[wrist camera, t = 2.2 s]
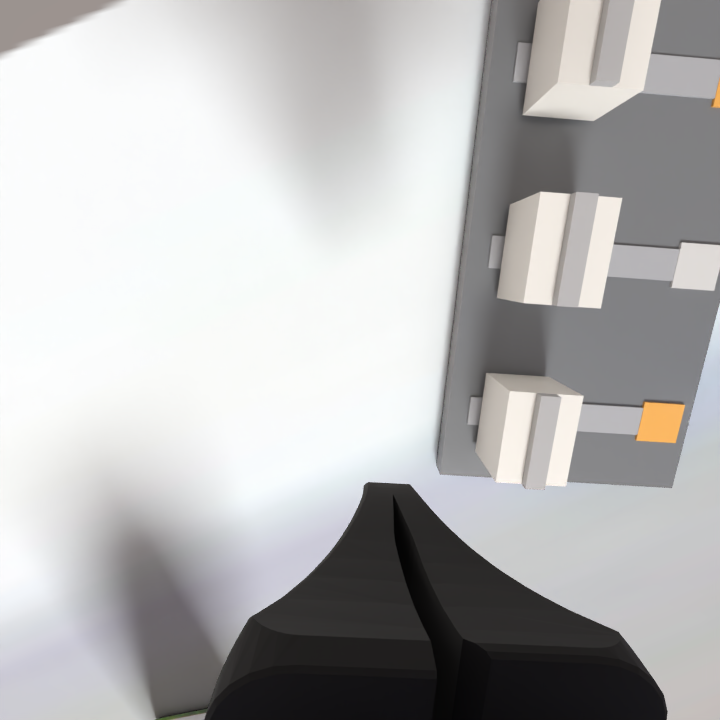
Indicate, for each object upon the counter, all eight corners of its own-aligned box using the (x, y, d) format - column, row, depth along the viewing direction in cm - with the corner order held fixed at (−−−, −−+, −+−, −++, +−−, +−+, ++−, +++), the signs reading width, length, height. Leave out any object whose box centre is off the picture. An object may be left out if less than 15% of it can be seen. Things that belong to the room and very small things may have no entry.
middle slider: (578, 209, 18) (629, 195, 14) (561, 302, 19) (606, 309, 15) (509, 204, 18) (545, 189, 14) (496, 297, 18) (527, 304, 15)
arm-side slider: (548, 376, 19) (589, 399, 16) (535, 454, 20) (570, 491, 17) (486, 372, 19) (513, 394, 16) (475, 451, 20) (499, 487, 17)
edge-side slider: (613, 9, 16) (680, -59, 13) (593, 121, 17) (651, 84, 14) (538, 2, 16) (585, -67, 13) (522, 115, 17) (563, 77, 14)
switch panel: (775, 3, 17) (804, -15, 16) (657, 478, 22) (673, 489, 21) (494, -23, 17) (504, -43, 16) (436, 465, 22) (440, 475, 21)
